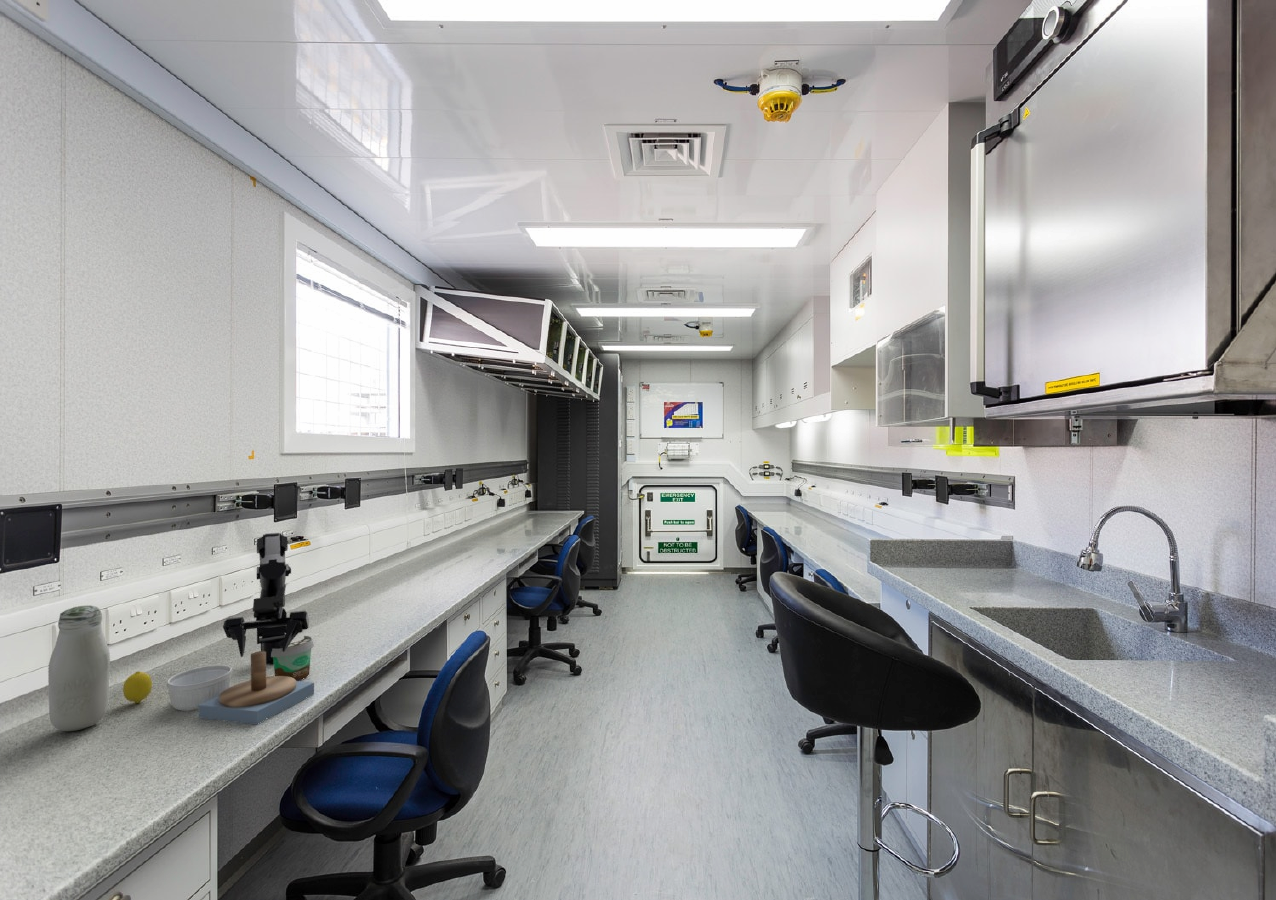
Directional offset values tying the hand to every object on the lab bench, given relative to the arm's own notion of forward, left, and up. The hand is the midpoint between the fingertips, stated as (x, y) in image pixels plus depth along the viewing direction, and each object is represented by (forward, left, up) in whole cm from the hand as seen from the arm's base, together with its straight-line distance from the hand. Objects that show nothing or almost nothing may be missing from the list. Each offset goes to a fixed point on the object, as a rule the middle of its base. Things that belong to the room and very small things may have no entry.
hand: (262, 653), depth 147 cm
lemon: (-29, -9, -12) cm, 33 cm away
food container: (-2, +13, -12) cm, 18 cm away
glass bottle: (-28, -22, -12) cm, 38 cm away
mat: (+3, -4, -11) cm, 12 cm away
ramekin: (-14, -5, -12) cm, 19 cm away
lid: (+3, -4, -8) cm, 10 cm away
